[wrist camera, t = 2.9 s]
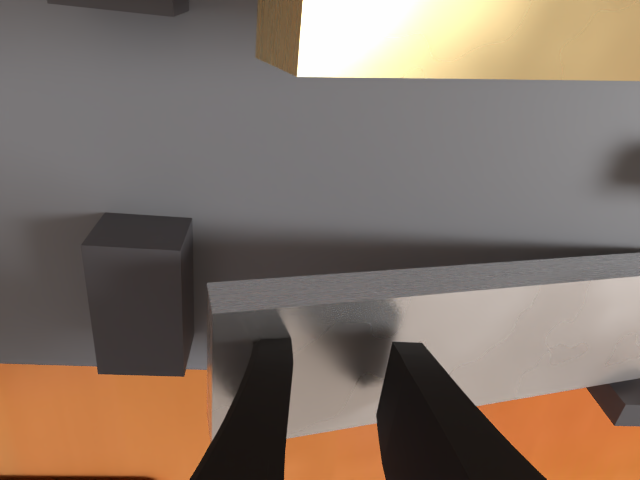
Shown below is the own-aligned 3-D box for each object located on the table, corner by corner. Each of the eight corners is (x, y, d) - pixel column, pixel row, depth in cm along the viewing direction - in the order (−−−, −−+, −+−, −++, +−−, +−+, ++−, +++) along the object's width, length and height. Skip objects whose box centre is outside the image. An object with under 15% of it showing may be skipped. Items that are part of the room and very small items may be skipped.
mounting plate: (640, 334, 18) (736, 430, 14) (-78, 303, 15) (-197, 412, 11) (887, -148, 11) (1187, -208, 8) (-290, -347, 9) (-726, -593, 5)
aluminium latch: (671, 250, 13) (707, 269, 12) (620, 352, 15) (648, 376, 14) (206, 282, 9) (212, 314, 9) (207, 414, 11) (211, 451, 10)
